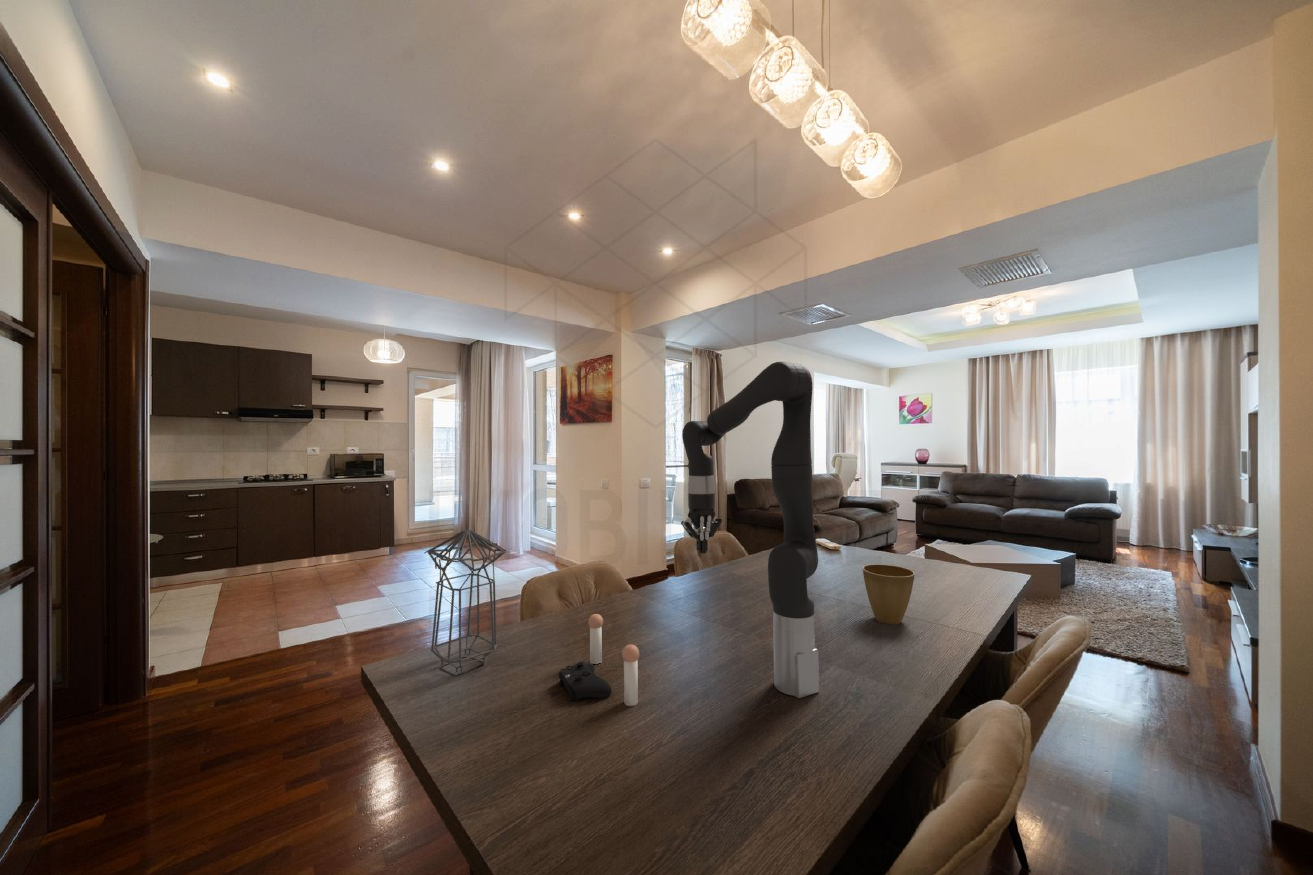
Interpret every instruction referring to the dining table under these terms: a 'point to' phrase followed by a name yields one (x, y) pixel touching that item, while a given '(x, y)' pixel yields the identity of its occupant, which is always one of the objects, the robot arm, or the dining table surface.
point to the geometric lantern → (481, 542)
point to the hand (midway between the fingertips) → (702, 552)
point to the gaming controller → (583, 682)
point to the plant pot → (888, 591)
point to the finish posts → (628, 654)
